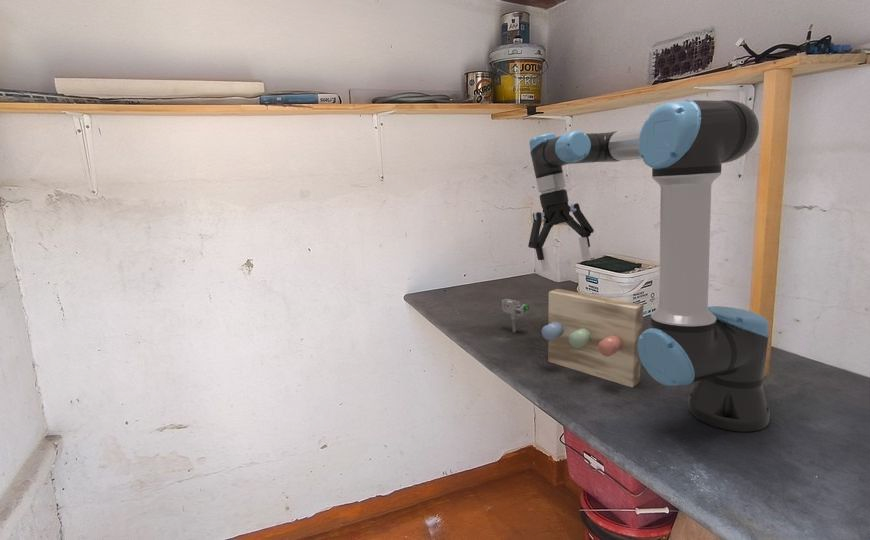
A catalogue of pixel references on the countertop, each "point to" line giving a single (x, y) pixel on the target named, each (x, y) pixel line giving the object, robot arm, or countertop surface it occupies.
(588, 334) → the sage green button
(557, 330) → the slate blue button
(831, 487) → the countertop surface
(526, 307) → the mechanical component
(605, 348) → the brick red button
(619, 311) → the button panel
